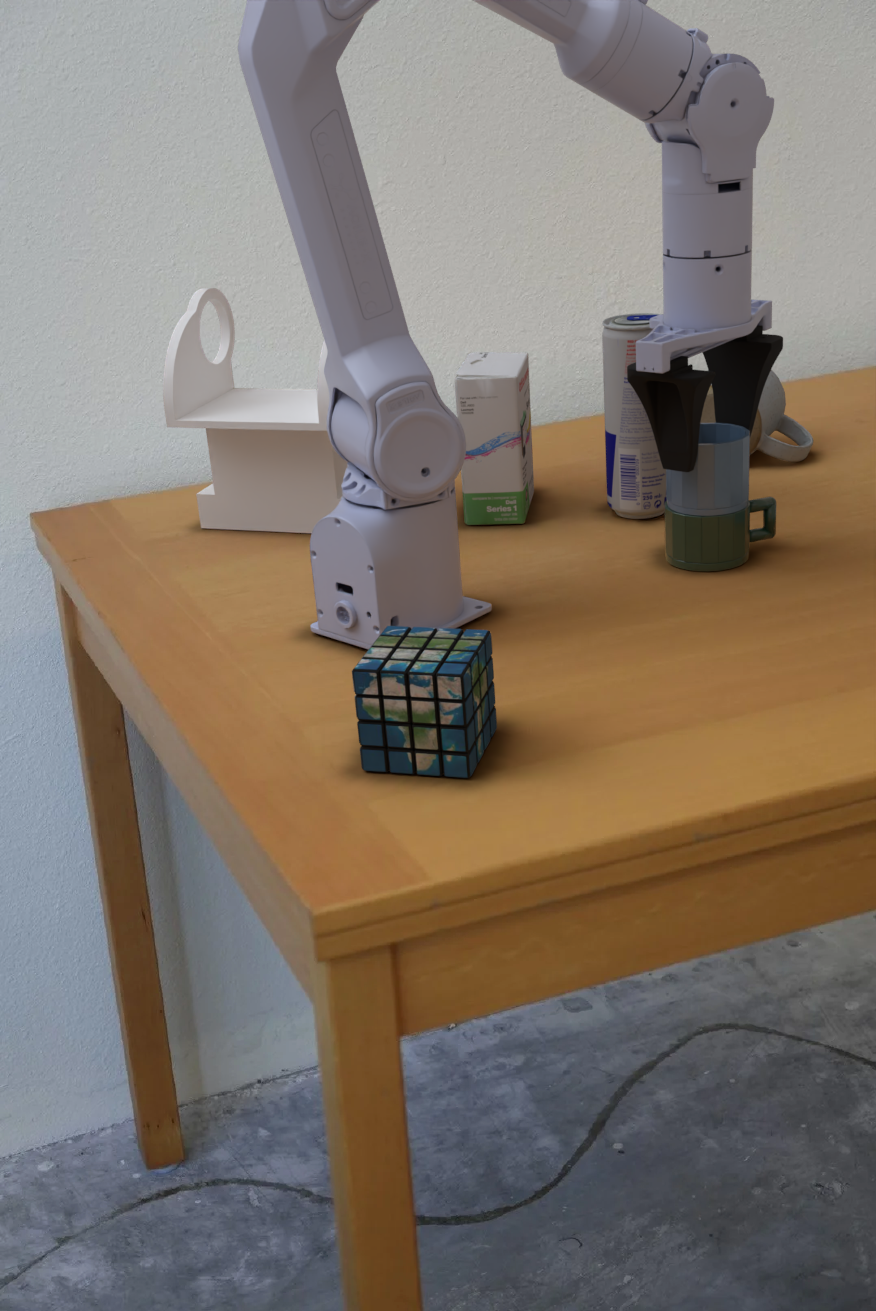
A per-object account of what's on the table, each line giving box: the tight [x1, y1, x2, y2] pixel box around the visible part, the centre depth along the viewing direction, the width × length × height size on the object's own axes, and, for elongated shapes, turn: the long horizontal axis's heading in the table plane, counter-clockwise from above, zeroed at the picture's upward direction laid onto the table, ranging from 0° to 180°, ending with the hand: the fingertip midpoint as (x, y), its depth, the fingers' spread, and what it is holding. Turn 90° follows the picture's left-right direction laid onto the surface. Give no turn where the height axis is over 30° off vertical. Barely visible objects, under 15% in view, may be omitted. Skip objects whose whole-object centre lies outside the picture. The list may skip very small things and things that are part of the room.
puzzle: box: [351, 626, 498, 779], centre depth 79 cm, size 6×6×6 cm
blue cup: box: [666, 423, 750, 516], centre depth 102 cm, size 6×6×5 cm
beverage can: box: [601, 312, 667, 520], centre depth 112 cm, size 5×5×15 cm
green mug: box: [664, 496, 777, 572], centre depth 104 cm, size 8×6×4 cm
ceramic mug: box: [700, 369, 814, 463], centre depth 125 cm, size 11×8×8 cm
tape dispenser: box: [162, 287, 348, 534], centre depth 116 cm, size 14×13×18 cm
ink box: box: [454, 351, 535, 526], centre depth 115 cm, size 8×5×12 cm, turn 171°
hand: (706, 454), depth 101 cm, fingers open, 7 cm apart
